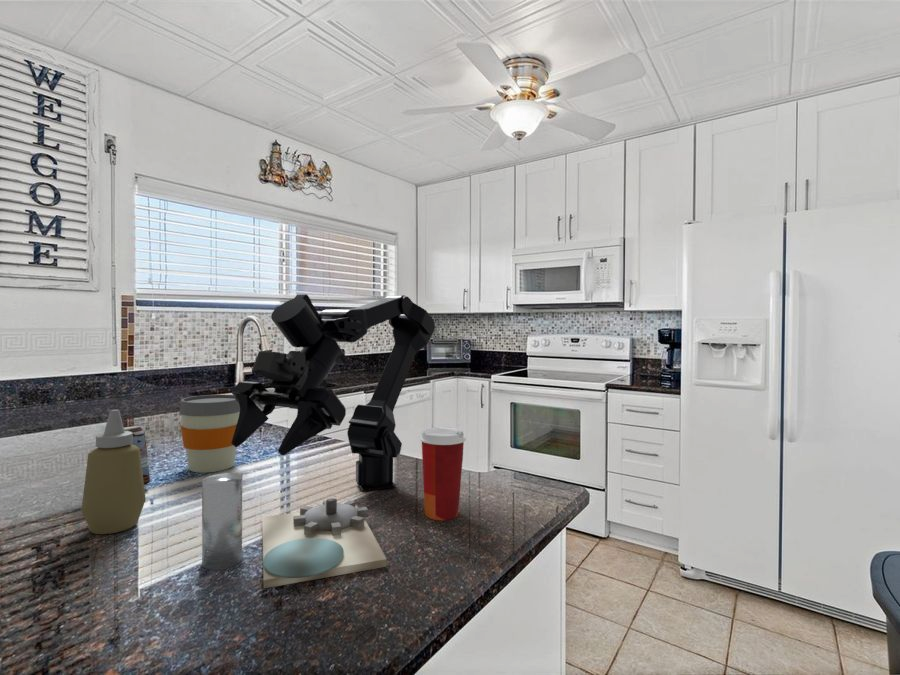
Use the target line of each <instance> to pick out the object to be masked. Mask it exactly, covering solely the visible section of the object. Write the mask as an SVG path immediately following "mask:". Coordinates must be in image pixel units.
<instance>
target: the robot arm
mask: <svg viewBox="0 0 900 675" xmlns="http://www.w3.org/2000/svg"><path fill="white" fill-rule="evenodd" d="M270 319H271V320H272V322H273V323H274V324H275V326H276V327H277V328H278V330H279V331H280V333H281V334H282V335H283V337H284V338H285V340H286V341H287V342H288V343H289V345H290V346H292V347H293V348H302V349H301V351H300V350H290V351H288V353H283V352H279V351H267V350H266V351H265V350H264V351H263V350H260V351H258V353H257V355H256V358H255V361H254V364H253V367H252V368H251V373H253V374H255V375H257V374H258V375H261V376H263V377H264V378H267V379H268V381H267V383H266V384H268V385H269V387H270V388H272V389H274V391H269V390H268V389H267V388H266V386H264V385H263V384H262V383H261V382H257V381H246V380H245V381H244V380H243V381H238V383H236V385H235V387H234V388H233V389H232V391H231V395H234V396H235V399H236V401H237V402H238V403H239V406H240V413H239V418H238V422H237V425H236V429H235V432H234V435H233V439H232V442H231V443H232V445H233V446H234V447H237V448H238V447H240V446H241V445H242V444H243V443H245V442H246V441H247V440H248V439H249V438H250V436H252V435H253V434H254V433H255V432H256V431H257V430H259V428H261V426H263V424H265V423H266V422H267V421H268V420H269V417H268V415H270V414H272V413H273V411H274V410H275V408H276V407H280V408H281V407H282V408H288V409H291V410H292V409H293V410H297V414H296V417H295V419H294V421H293V423H292V424H291V426H290V428H289V429H288V430H287V432H286V434H285V436H284V438H283V440H282V442H281V444H280V445H279V448H278V449H277V452H278V454H279V455H280V456H285V455H287V454H288V453H290V452H292V451H293V450H295V449H296V448H297V447H299V446H300V445H302V444H303V443H305V442H307V441H308V440H310V439H311V438H313V437H315V436H316V435H318V434H320V433H322V432H324V431H325V430H330V429H332V428H333V426H338V427H340V426H341V424H342V422H343V421H344V419H345V417H346V414H347V413H346V412H347V411H346V406H345V405H344V404H343V402H342V400H340V398H339V397H338V396H337V394H336V393H335V391H334V390H333V389H332V388H327V387H328V385H329V383H328V382H327V380H326V378H327V376H328V375H329V373H330V372H331V370H332V368H333V367H334V366H335V365H347V364H348V359H347V358H348V357H347V356H346V352H345V348H341V347H340V345H339V343H351V344H352V343H356V342H358V341H359V340H360V339H362V338H363V337H364V336H366V335H367V333H368V330H369V329H370V328H371V327H374V326H377V325H379V324H382V323H384V322H387V321H388V325H390V327H391V328H392V336H393V341H394V345H393V348H392V350H391V352H390V355H389V357H388V359H387V361H386V364H385V366H384V369H383V370H382V373H381V376H380V378H379V380H378V383H377V385H376V387H375V389H374V391H373V394H372V397H371V398H370V401H369V402H368V403H366V404H357V406H356V407H355V409H354V412H353V414H352V417H351V418H350V420H348V423H349V425H348V428H347V438H348V443H349V446H350V447H349V448H350V450H351V453H352V454H358V460H356V461H355V483H356V484H357V485H358V486H359V488H360V489H361V490H362V491H363V492H367V491H376V490H384V489H393V488H394V489H395V488H396V483H395V482H394V458H395V459H396V458H397V457H398V455H400V454H401V451H402V446H403V444H402V442H401V440H400V439H399V437H398V436H397V434H396V433H395V430H396V420H395V415H394V409H395V407H396V404H397V402H398V399H399V396H400V395H401V391H402V390H403V388H404V384H405V382H406V380H407V376H408V374H409V372H410V369H411V367H412V365H413V362H414V360H415V356H416V354H417V353H418V352H420V351H421V350H422V349H423V348H425V347H426V346H427V345H428V343H429V342H430V341H431V338H432V336H433V334H434V332H435V328H436V326H435V321H434V319H433V318H432V316H431V315H430V314H429V312H428V311H427V310H426V309H424V308H423V307H422V306H419V305H418V304H416V303H414V302H413V301H412V299H411V298H410V297H409V296H406V295H402V294H401V295H387V296H385V297H384V298H382V299H379V300H378V299H377V300H376V301H372V302H369V303H366V304H363V305H360V306H357V307H353V308H336V309H335V308H334V309H330V308H329V309H324V310H322V311H321V312H318V311H317V309H316V307H315V306H314V304H313V301H312V299H311V298H310V296H309V295H308V294H305V293H303V294H302V293H301V294H296V295H295V297H294V298H292V299H289V300H286V301H285V302H283V303H282V304H281V305H278V306H276V307H275V308H274V309H273V311H272V313H271V316H270Z"/></svg>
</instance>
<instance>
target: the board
mask: <svg viewBox="0 0 900 675" xmlns="http://www.w3.org/2000/svg"><path fill="white" fill-rule="evenodd" d="M368 510H369V509H368V508H367V506H364V507H363V506H362V507H359V505H357V504H356V501H355V500H354V501H353V500H348V501H345V502H343V503H338V500H337V498H334V497H332V498H331V497H330V498H327V499H326V500H323V501H322V504H320V505H317V506H314V507H313V506H307V505H304V506H302V507H300V508H299V512H292V513H285V514H284V513H282V514H276V515H275V514H274V515H268V516H261V531H262V532H261V534H262V536H261V537H262V539H261V540H262V568H263V569H262V572H263V573H262V574H263V578H262V579H263V582H262V583H263V589H268V588H275V587H280V586H285V585H292V584H296V583H301V582H307V581H315V580H318V579H319V580H320V579H323V578H329V577H335V576H340V575H341V576H342V575H348V574H354V573H358V572H363V571H364V572H365V571H369V570H377V569H381V568H386V567H387V565H388V564H387V562H388V561H387V560H388V559H387V557H386V555H385V553H384V552H383V550H382V548H381V545H380V544H379V543H378V540H377V539H376V537H375V535H374V534H373V531H372V529H371V528H370V526H369V524H368V522H367V521H366V519H365V518H368V517H369V516H368V515H369V512H368Z"/></svg>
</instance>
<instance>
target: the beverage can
mask: <svg viewBox="0 0 900 675" xmlns="http://www.w3.org/2000/svg"><path fill="white" fill-rule="evenodd" d="M124 430H125V431H130V432H132V433H133V443H131V444H132V445H136V446H137V447H139V449H140V455H141V464H142V472H143V481H144V488H146V487H147V485H148V484H149V483H150V482H151V475H150V468H149V458H148V446H147V438H146V432H145V430H144V429H143V428H142V426H141V425H134V426H133V425H132V426H126V427H124Z"/></svg>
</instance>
